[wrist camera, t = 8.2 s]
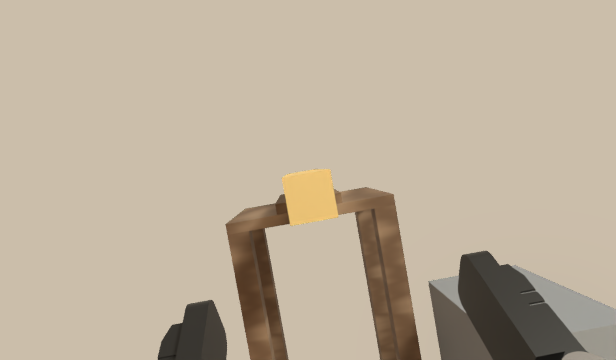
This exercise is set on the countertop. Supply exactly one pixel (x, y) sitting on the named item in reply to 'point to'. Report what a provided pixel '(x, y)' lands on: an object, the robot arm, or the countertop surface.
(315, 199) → the yellow bar
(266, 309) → the stool
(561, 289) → the block
